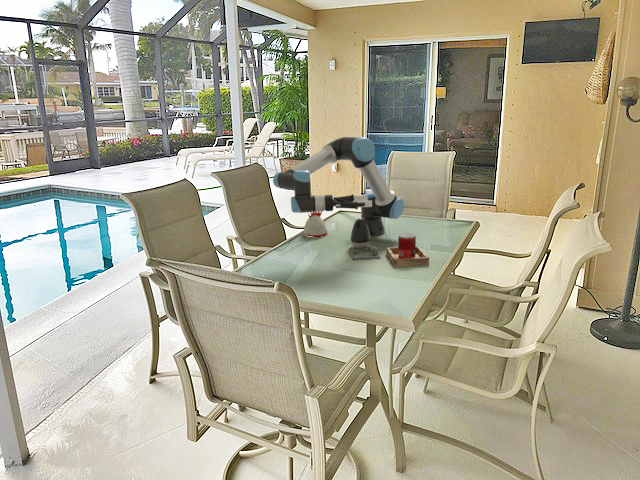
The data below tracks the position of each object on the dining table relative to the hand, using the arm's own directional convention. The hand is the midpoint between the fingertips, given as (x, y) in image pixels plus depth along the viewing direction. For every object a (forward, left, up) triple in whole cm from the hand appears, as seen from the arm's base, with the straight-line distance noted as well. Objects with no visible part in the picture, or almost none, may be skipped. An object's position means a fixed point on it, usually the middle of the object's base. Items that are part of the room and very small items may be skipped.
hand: (369, 200), depth 229 cm
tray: (+4, +17, -28) cm, 33 cm away
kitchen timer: (-51, -25, -28) cm, 63 cm away
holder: (-6, -2, -28) cm, 29 cm away
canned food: (+4, +17, -27) cm, 32 cm away
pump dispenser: (-21, -2, -28) cm, 35 cm away
